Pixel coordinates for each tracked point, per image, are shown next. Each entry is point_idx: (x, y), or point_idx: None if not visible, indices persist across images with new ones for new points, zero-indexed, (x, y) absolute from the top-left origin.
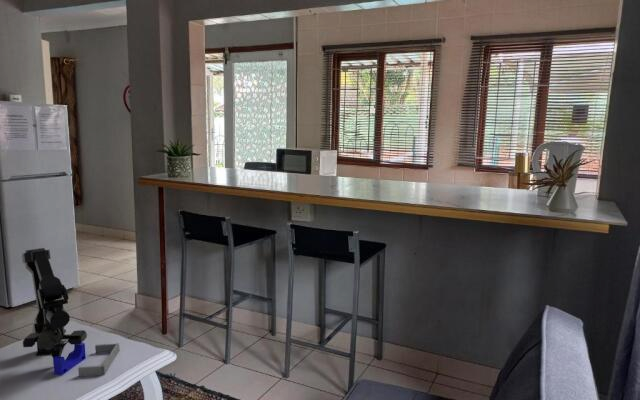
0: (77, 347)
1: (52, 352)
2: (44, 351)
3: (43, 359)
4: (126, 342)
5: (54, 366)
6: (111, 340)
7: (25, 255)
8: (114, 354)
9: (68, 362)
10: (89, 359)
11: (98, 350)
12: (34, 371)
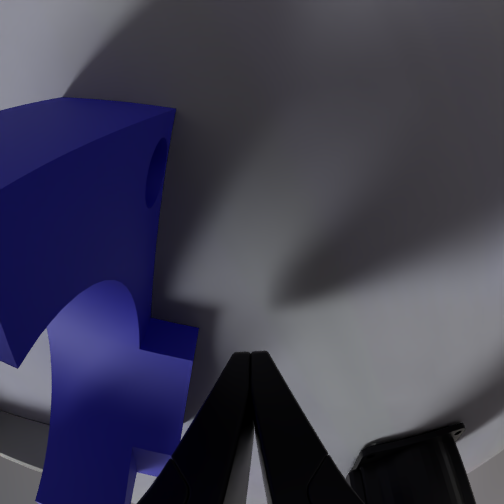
0: (88, 494)
1: (299, 498)
2: (422, 453)
3: (419, 401)
4: None
5: (106, 121)
6: None
7: None
8: None
9: (112, 341)
10: (48, 380)
11: None
12: (466, 222)
